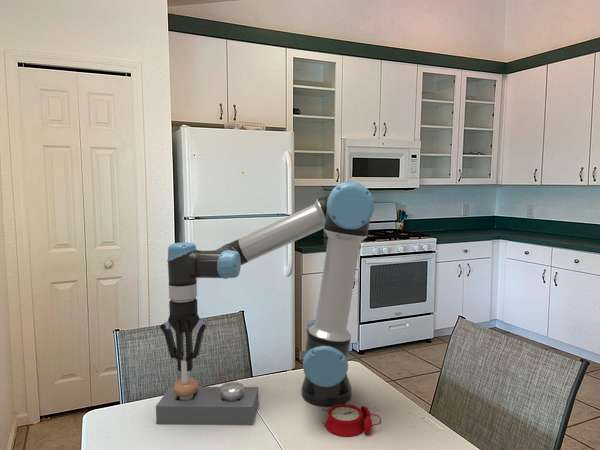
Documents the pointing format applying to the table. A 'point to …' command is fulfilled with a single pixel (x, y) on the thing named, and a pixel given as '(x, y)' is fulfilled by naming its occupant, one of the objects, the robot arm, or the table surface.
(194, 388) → the terracotta plunger
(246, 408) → the panel
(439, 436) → the table surface
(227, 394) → the metal plunger
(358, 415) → the alarm clock
